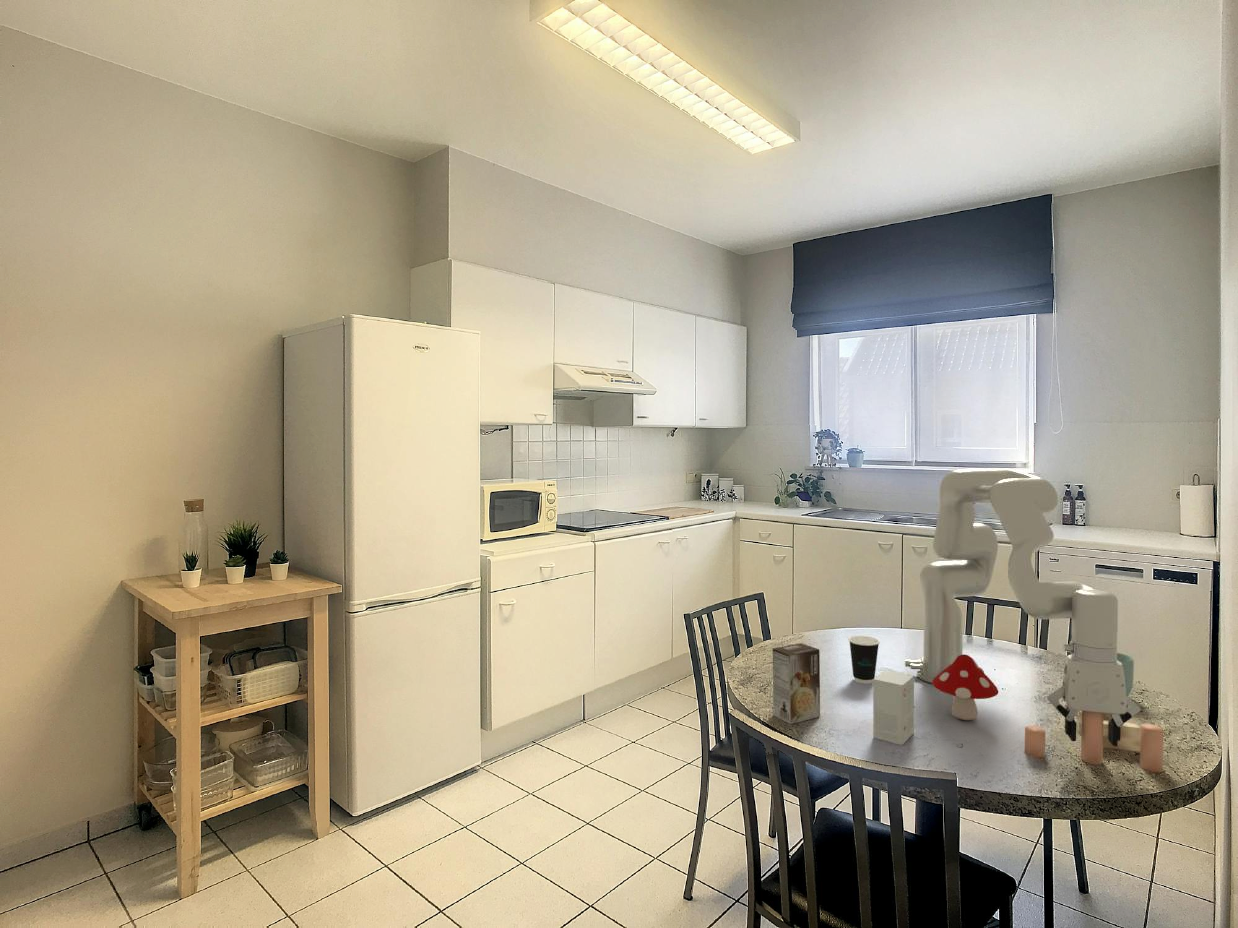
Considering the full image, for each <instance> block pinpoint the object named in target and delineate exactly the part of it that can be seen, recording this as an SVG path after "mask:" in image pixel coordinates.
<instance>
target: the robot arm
mask: <svg viewBox="0 0 1238 928" xmlns="http://www.w3.org/2000/svg"><path fill="white" fill-rule="evenodd" d="M939 486H940V487H939V511H938V515H937V519H936V524H935V531H934V535H933V541H932V542H933V543H932V549H933V553H934V554H935V556H937V557H938V558H939V559H942V561H941V560H939V561H933V562H930V563H929V562H928V563H927V564H926V565H924V566H923V567H922V569H921V570H920V573H919V583H920V588H921V592H922V600H923V602H922V603H923V656H921V659H917V660H913V659H904V667H907V668H910V670H916V674H917V677H918V678H919V679H920V680H922V681H924V682H927V683H929V684H932V681H933V679H934V678H935V677H936V676H937V675H938V674H939V673H941V672H942V671H943V670H944V669H946V668H947V667H948V666H949V665H950V664H951V661H952V660H953V659H954V658H955V657H957V656H960V655H963V643H964V641H963V640H964V637H963V635H964V633H963V632H964V631H963V629H964V616H963V612H962V611H963V610H961V608H960V606H959V604H958V603H957V601H956V598H961V597H963V598H964V597H977V596H982V595H984V594H985V593H986V592H987V591H988V590H989V587H990V585H991V581H992V576H993V572H994V568H995V565H996V564H995V563H996V559H997V556H998V550H999V541H998V537H997V534H996V532H995V530H994V529H993V528H992V527H991V526H989V525H988V524H985V523H979V522H976V523H975V520H976V516H977V515H976V514H977V513H976V507H975V505H974V504H991V506H992V508H993V510H994V511H995V514H996V516H997V517H998V518H997V519H998V520H999V522H1000V524H1001V526H1002V528H1003V530H1004V532H1005V534H1006V536H1007V538H1008V540H1009V542H1010V544H1011V546H1012V550H1011V553H1010V555H1009V558H1008V563H1007V575H1008V576H1007V577H1008V581H1009V585H1010V587H1011V589H1012V591H1013V593H1014V596H1015V597H1016V599H1017V601H1018V604H1019V605H1020V607H1021V608H1022V609H1023V611H1024V612H1025V613H1026V614H1027V615H1028V616H1030V617H1032V618H1033V619H1037V620H1057V619H1071V640H1070V641H1069V643H1068V644H1063V645H1062V649H1063V652H1068V653H1070V654H1068V655H1067V656H1066V661H1065V664H1064V665H1065V666H1064V670H1063V675H1062V683H1061V685H1062V686H1060V687H1059V688H1058V689H1056V690H1054V692H1052V693H1051V694H1049V695H1048V696H1047V700H1048V702H1049V703H1050V704H1051V705H1052V706H1053V707H1054V708H1055V709H1056V710H1057V711H1058V712H1059V713H1060V715H1062V716H1063V717H1064V732H1065V735H1067V737H1068V738H1069V739H1070V741H1072V742H1077V729H1076V720H1075V717H1076V715H1077V712H1078V710H1079V711H1087V712H1096V713H1106V714H1110V717H1111V721H1110V720H1109V722H1108V740H1109V741H1110V743H1111V744H1112V745H1113V746H1117V745H1118V741H1120V734H1121V727H1122V726H1123V724H1124V723H1125V722H1127V721H1128V720H1129V719H1132V718H1133V716H1135V715H1136V714H1137V713H1139V712H1141V707H1140V706H1139V705H1138V704H1137V703H1135V701H1133V700H1132V699H1131V698H1130V696H1127V695H1126V685H1125V677H1124V671H1123V666H1122V663H1121V662H1119V661H1118V660H1117V653H1118V622H1119V621H1118V619H1119V618H1118V617H1119V616H1118V615H1119V613H1118V612H1119V600H1118V598H1117V596H1116V595H1115V594H1114V593H1112V592H1109V591H1107V590H1101V589H1095V588H1093V587H1091V586H1089V585H1088V584H1086V583H1082V582H1079V581H1050V582H1049V581H1048V582H1040V580H1039V578H1038V576H1037V575H1036V572H1035V569H1034V567H1033V563H1032V556H1033V554H1034V553H1036V552H1039V551H1040V550H1042V549H1043V548H1046V547H1047V546H1048V545H1050V544H1051V542H1053V540H1054V531H1053V530H1052V528H1051V526H1050V524H1049V523H1048V521H1047V519H1046V517H1045V516H1044V515H1045V514H1049V513H1052V512H1053V511H1054V510H1055V509H1056V508H1057V506H1058V503H1059V496H1058V492H1057V490H1056V488H1055V487H1054V486H1053V484H1051V482H1050V481H1048V480H1047V479H1045V478H1042V477H1040V476H1036V475H1033V474H1029V473H1026V472H1022V471H1020V470H1015V469H1011V468H965V469H955V470H951V471H949V472H947V473H946V474H945V475H944V476H943V478H942V479H941V482H940V485H939ZM943 560H944V561H943ZM1061 699H1062V700H1063V701H1065V704H1066V706H1065V707H1064V706H1063V705H1062V704H1061V703H1060V702H1059V700H1061Z"/></svg>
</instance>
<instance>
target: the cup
mask: <svg viewBox="0 0 1238 928" xmlns="http://www.w3.org/2000/svg"><path fill="white" fill-rule="evenodd" d="M1117 660H1118V661H1119V662H1121V663H1122V666H1123V671H1124V677H1125V685H1126V695H1127V696H1128V697H1130V695H1131V693H1132V691H1133V686H1134V681H1135V679H1134V678H1135V677H1134V676H1135V675H1134V674H1135V661H1134V658H1133V657H1132V656H1130V655H1127V654H1124V653H1121V652H1117Z"/></svg>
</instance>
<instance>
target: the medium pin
mask: <svg viewBox="0 0 1238 928" xmlns="http://www.w3.org/2000/svg"><path fill="white" fill-rule="evenodd" d="M1139 727H1140V752H1139V768H1141V769H1143V770H1145V771H1148V772H1151V773H1163V772H1164V728H1163V727H1160V726H1159V725H1155V724H1150V723H1149V724H1148V723H1142V724H1140V725H1139Z"/></svg>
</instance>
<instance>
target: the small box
mask: <svg viewBox="0 0 1238 928" xmlns="http://www.w3.org/2000/svg"><path fill="white" fill-rule="evenodd" d="M872 685H873V686H872V687H873V688H872V690H873V695H872V699H873V705H872V706H873V707H872V708H873V713H872V714H873V715H872V716H873V717H872V718H873V719H872V720H873V729H872V730H873V732H872V733H873V734H872V736H873V738H874V739H877V740H881V741H885V742H889V743H891V744H896V745H899V746H903V745H904V744H905V743H906V742H907V741H908V740H909V739H910V738H911V737H912V735H913V734H914V733H915V730H914V729H915V716H914V715H915V707H914V706H915V675H913V674H909V673H905V672H901V671H896V670H889V669H885V670H884V671H882V672H880V674H878V675H877V676H875V678H874V679H873V683H872Z"/></svg>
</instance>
